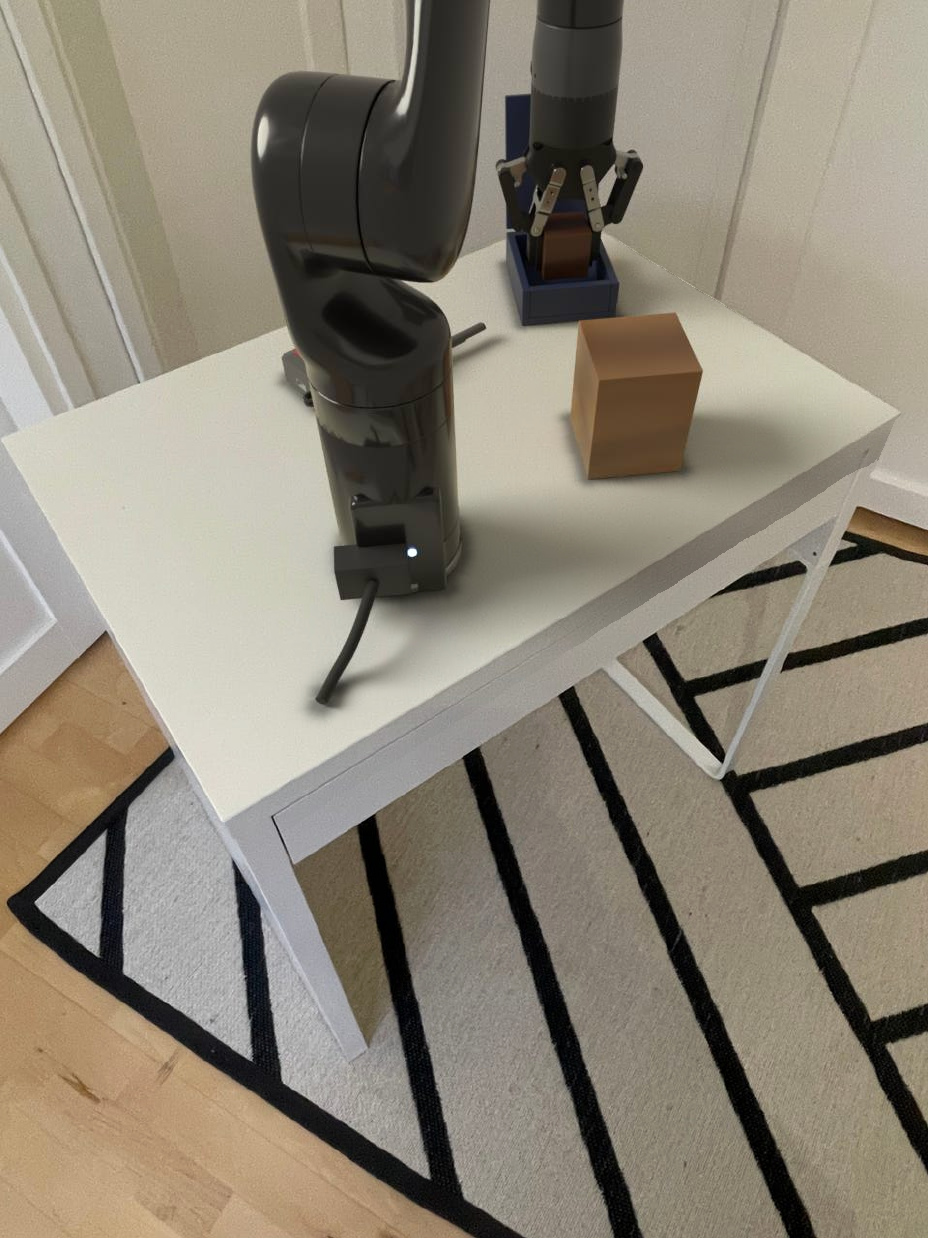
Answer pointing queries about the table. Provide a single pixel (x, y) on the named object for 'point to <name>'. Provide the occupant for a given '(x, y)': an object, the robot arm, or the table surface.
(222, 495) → the table surface
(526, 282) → the navy jewelry box
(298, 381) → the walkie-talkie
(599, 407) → the stand
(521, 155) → the cover
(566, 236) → the block
